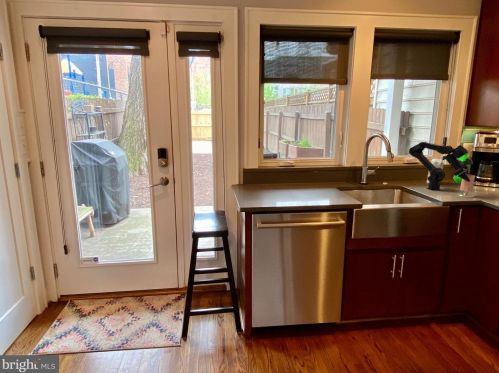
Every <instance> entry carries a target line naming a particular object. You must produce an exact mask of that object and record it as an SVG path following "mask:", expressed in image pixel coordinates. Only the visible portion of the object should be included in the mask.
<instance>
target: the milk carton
mask: <svg viewBox="0 0 499 373" xmlns="http://www.w3.org/2000/svg"><path fill="white" fill-rule="evenodd" d="M430 162H431V163H432V164H433V165H434V166H435V167H436V168H441V169H442V170H443V169H444V162H443V161H442V158H441V159H440V158H432V159H431V161H430ZM429 176H430V172H429V171H428V174H427V178H428V177H429ZM427 178H426V179H427ZM441 182H442V181H440V183H441ZM426 183H427V184H429V181H428V179H427V180H426Z"/></svg>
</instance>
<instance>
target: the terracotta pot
mask: <svg viewBox="0 0 499 373" xmlns="http://www.w3.org/2000/svg"><path fill="white" fill-rule="evenodd" d="M469 174H470V173H469ZM469 174H467V176H468V178H469V179H470V182H468V181H466V180H464V179H462V182H461V183H460V188H459V189H460V191H463V192H464V191H468V192H473V189H474V182H475V178H476V175H473V174H470V175H469Z"/></svg>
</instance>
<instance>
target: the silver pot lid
mask: <svg viewBox="0 0 499 373" xmlns="http://www.w3.org/2000/svg"><path fill="white" fill-rule="evenodd" d="M456 196H458V197H462V198H467V199H468V198H470V199H473V198H474V197H475V195H474V194H471V193H469V191H463V192H457V193H456Z"/></svg>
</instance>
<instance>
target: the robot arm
mask: <svg viewBox="0 0 499 373" xmlns="http://www.w3.org/2000/svg"><path fill="white" fill-rule="evenodd" d="M425 149H427V150H431V151H434V152H435V151H436V152H437V154H441V155H443V156H442V158H441V159H442V162H443V161H446V162H447V163H448V164H449V166H450V167H451V168H452V169H453V170H454V172H453V176H454V175H455V176H457V175H458V176H457V177H460V178H462V179H464V180H466V181H468V182H470V179H469V178H468V176H467V174H469V175H471V174H470V172H469V171H470V170H469V169H470V166H471V165H473V164H474V163H473V159H472V158H470V157H469V158H470V159H469V158H467V159H466V160H465V161H461V160H457V158H460V157H462V156H463V155H465V154H467V151H468V149H467V148H466V147H464V146H463V145H462V144H460V145H458V146H456V147H455V148H454V147H453V146H451V145H440V144H436V143H431V142H427V141H420V142H418V144H415V145H413V146H412V147H410V148H409V149H408V154H409V155H410V156H411V157H414V158H415V159H417V160H418V161H419V162H420V163H421V164H422V165H423V167H424V168H426V170H427V171H428V172H430V176H429V177H428V176H427V178H426V179H428V181H429V183H428V186H427V187H426V189H428V190H430V191H441V182H443V180H444V179H445V178H446V172H445V171H444V170H443V169H441V168H436V167H435V166H434V165H433V164H432V163H431V161H430V160H429V159H428V158H427V157H426V156H425V155H424V151H425ZM467 155H468V154H467ZM468 165H470V166H468ZM467 168H468V169H467ZM440 181H441V182H440Z"/></svg>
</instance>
